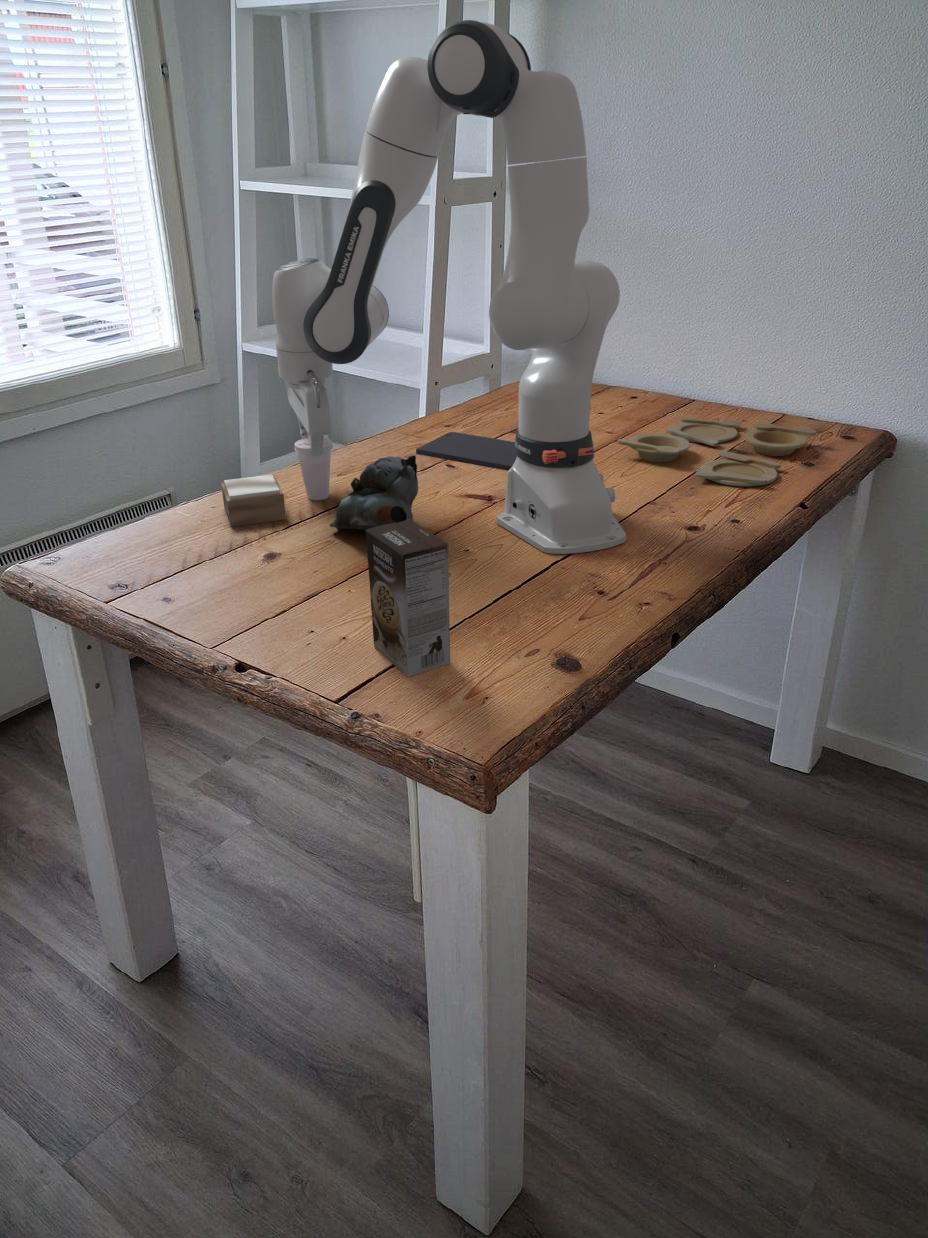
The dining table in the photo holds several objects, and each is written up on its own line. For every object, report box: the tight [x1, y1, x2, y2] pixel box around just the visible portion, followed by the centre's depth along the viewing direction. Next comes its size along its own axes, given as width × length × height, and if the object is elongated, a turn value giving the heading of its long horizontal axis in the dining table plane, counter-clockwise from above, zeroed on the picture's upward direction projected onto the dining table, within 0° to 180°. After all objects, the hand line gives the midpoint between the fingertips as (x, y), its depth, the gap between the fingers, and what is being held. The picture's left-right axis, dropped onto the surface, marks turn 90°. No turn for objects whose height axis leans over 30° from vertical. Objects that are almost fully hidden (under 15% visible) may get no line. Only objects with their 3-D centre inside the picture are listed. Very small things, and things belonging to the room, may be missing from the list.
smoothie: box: [294, 435, 334, 501], centre depth 170 cm, size 6×6×14 cm
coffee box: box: [365, 519, 451, 678], centre depth 120 cm, size 9×6×16 cm
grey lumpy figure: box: [328, 455, 419, 531], centre depth 157 cm, size 15×12×14 cm
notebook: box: [415, 431, 517, 472], centre depth 193 cm, size 13×2×21 cm
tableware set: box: [617, 416, 817, 487], centre depth 189 cm, size 35×29×4 cm
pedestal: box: [220, 474, 287, 528], centre depth 166 cm, size 9×9×5 cm
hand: (311, 445), depth 169 cm, fingers open, 8 cm apart
